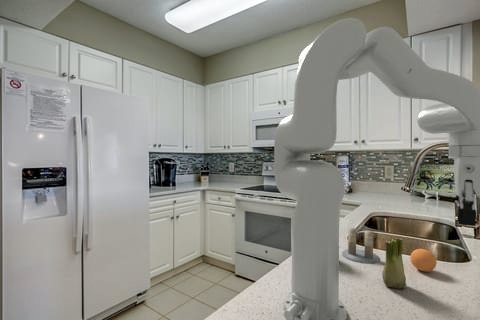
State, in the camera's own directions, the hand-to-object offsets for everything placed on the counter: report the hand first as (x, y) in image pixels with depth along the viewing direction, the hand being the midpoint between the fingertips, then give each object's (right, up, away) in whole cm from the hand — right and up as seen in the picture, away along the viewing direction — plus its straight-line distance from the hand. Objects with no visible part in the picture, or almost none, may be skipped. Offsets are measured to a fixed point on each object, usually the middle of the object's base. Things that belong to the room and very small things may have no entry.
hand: (466, 222), depth 65 cm
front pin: (-18, -15, +15) cm, 28 cm away
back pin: (-22, -15, +18) cm, 32 cm away
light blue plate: (-20, -15, +16) cm, 30 cm away
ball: (-7, -12, +6) cm, 15 cm away
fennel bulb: (-20, -16, -2) cm, 26 cm away
